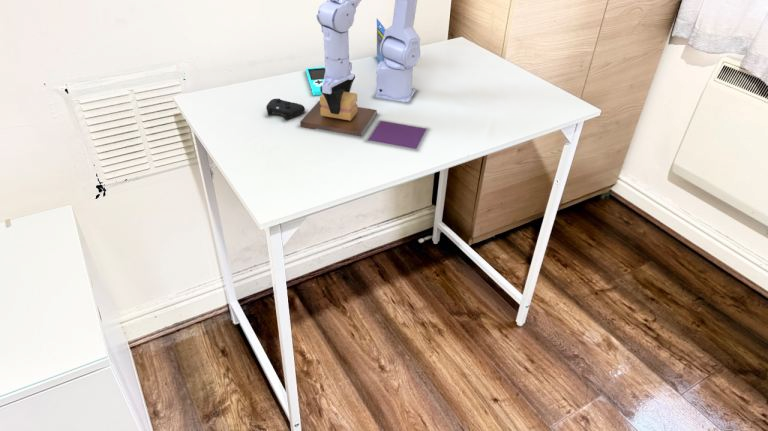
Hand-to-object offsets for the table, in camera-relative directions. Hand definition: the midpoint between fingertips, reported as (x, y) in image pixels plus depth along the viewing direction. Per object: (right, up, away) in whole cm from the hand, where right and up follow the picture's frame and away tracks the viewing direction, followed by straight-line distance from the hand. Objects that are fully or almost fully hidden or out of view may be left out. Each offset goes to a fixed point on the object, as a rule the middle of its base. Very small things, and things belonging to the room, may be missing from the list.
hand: (339, 108), depth 131 cm
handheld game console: (-5, +12, +20) cm, 24 cm away
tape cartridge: (+12, +20, +31) cm, 39 cm away
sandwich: (0, -1, +1) cm, 2 cm away
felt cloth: (+15, -7, -3) cm, 16 cm away
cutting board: (0, -3, +2) cm, 4 cm away
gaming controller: (-15, 0, +5) cm, 16 cm away
